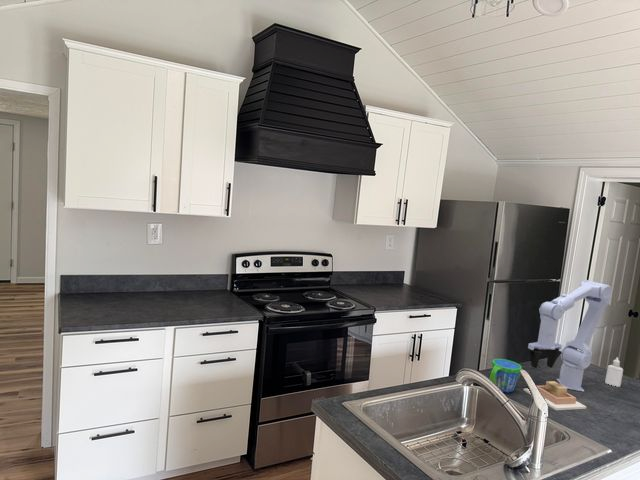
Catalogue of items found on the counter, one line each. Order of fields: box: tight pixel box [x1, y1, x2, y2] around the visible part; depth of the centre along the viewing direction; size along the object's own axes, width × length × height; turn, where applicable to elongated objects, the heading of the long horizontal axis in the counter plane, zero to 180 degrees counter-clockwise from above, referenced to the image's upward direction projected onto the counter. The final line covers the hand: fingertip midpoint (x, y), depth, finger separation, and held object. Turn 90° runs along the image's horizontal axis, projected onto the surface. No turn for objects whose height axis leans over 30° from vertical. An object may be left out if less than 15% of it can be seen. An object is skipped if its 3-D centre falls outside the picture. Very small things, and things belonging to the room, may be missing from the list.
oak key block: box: [545, 380, 568, 397], centre depth 172 cm, size 6×4×5 cm, turn 18°
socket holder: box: [523, 384, 587, 411], centre depth 172 cm, size 16×14×3 cm
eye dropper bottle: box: [604, 357, 624, 388], centre depth 194 cm, size 4×6×12 cm
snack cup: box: [488, 358, 523, 393], centre depth 176 cm, size 16×10×10 cm
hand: (541, 367), depth 179 cm, fingers open, 7 cm apart
